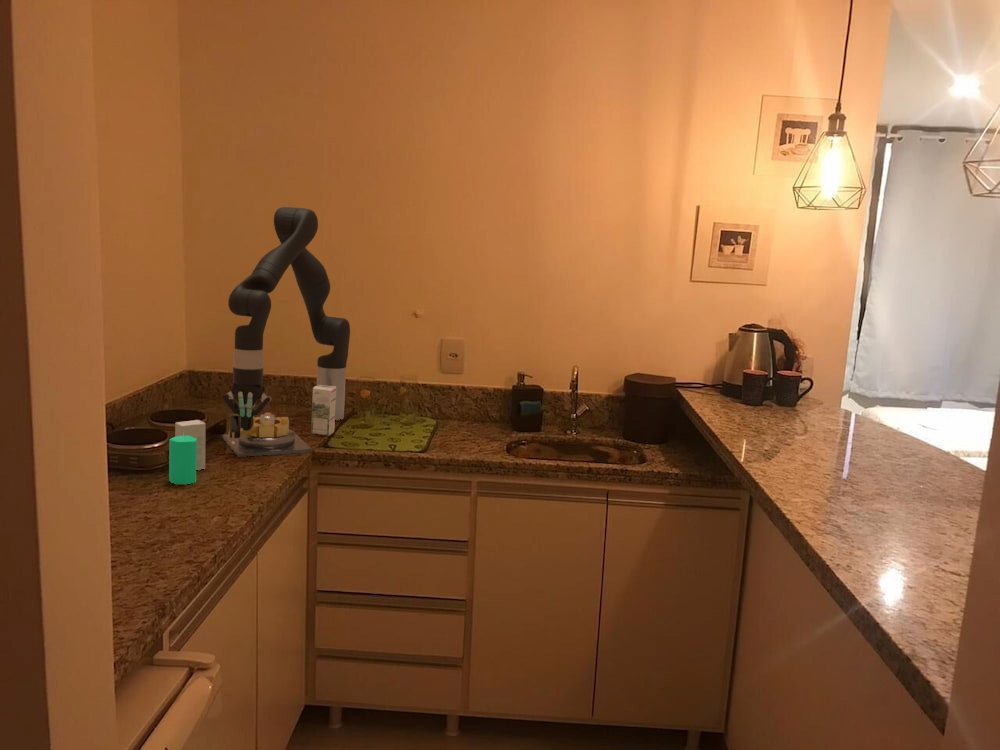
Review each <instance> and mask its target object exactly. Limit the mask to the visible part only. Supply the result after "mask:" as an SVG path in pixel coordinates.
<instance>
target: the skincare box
mask: <svg viewBox="0 0 1000 750" xmlns="http://www.w3.org/2000/svg"><path fill="white" fill-rule="evenodd" d="M174 425H175V426H174V431H175V432H174V435H175V436H174V437H177V436H183V432H184V436H191V437H194V438H197V470H198V471H202V470H201V469H204V470H205V469H206V434H207V433H206V425H207V424H206V423H205V422H204V421H202V420H200V419H194V420H188V421H187V420H186V421H176V422H175V423H174Z"/></svg>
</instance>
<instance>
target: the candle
mask: <svg viewBox="0 0 1000 750" xmlns="http://www.w3.org/2000/svg"><path fill="white" fill-rule="evenodd" d="M168 440H169V443H168V444H169V447H168V448H169V454H168V455H169V456H168V457H169V458H168V467H169V468H168V482H169V481H170V482H171V483H174V484H191V483H193V484H195V483H197V471H196V470H197V438H194V437H191V436H184V432H183V436H177V437H175V436H174V437H172V438H170V439H168ZM194 482H195V483H194ZM191 485H192V484H191Z"/></svg>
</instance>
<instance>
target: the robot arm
mask: <svg viewBox="0 0 1000 750" xmlns="http://www.w3.org/2000/svg"><path fill="white" fill-rule="evenodd" d="M318 220H319V219H318V215H317V214H316V213H315V211H313V210H312V209H309V208H304V207H302V208H301V207H293V206H292V207H290V206H289V207H288V206H282V207H279V208H277V209H276V211H275V212H274V216H273V226H274V230H275V233H276V236H277V238H278V240H279V242H280V244H279V245H278V246H276V247H275V248H273V249H271V250H270V251H269V252H267V253H265V255H263V256H262V257H261V258H260V260H259V261H258V263H257V264H256V265H255V267H254V269H253V271H252V272H251V274H250V275H249V276H247V277H246V278H245V279H243V280H242V281H241V282H240V283H239V284H238V285H237V286H235V287H234V289H232V291H231V292H230V295H229V297H228V301H227V302H228V303H227V304H228V308H229V311H230V312H231V313H232V314H234V315H235V316H242V317H249V318H251V319H250V321H249V323H248V324H245V325H244V324H242V325H239V326H237V327H236V328H235V332H234V349H233V350H234V352H233V360H232V386H231V387H230V391H228V392H227V393H225V394H223V395H222V399H223V401H224V402H225V403H226V404H227V406H228V407H229V409H230V410H231V412H233V413H232V414H238V415H240V416H241V425H240V429H241V428H243V430H245V431H249V430H250V429H251V428H252V427H253V417H255V416H258V415H259V414H261V412H262V411H263V410H264V409H265V408H266V407H267V406H268V405H269V404H270V402H271V401H272V400H273V396H271V395H269V394H267V393H265V388H264V383H263V382H264V381H263V380H264V348H263V347H264V332H265V329H266V326H267V322H268V319H269V315H270V312H271V309H272V300H271V297H270V295H269V294H270V293H272V292H273V291H274V290H275V289H276V288H277V286H278V284H279V283H280V281H281V279H282V278H283V276H284V275H285V272H286V271H287V269H288V268H289V266H291V269H292V271H293V274H294V278H295V279H296V283H297V286H298V289H299V291H300V294H301V297H302V299H303V302H304V304H305V308H306V311H307V314H308V318H309V323H310V327H311V332H312V335H313V338H314V340H315V342H316V343H318V344H320V345H323V346H332V348H333V349H332V352H330V353H327V354H324V355H321V356H319V357H318V358H317V363H316V364H317V365H316V367H317V369H316V386H317V385H326V386H336V403H335V420H336V421H341V420H344V418H345V401H346V398H345V397H346V381H347V378H346V377H347V361H348V357H349V348H350V340H351V339H350V338H351V325H350V322H349V320H348V319H346V318H343V317H335V316H328V315H326V313H325V310H324V305H325V303H326V301H327V299H328V297H329V294H330V291H331V283H330V279H329V276H328V274H327V270H326V269H325V266H324V265H323V264H322V262H321V261H320V260H319V259H318V258H317V257H316V256H315V255H314V254H313V253H312V252H310V251H309V250H308V249H307V247H308V245H310V243H311V242H312V240H314V238H315V237H316V234H317V233H318V228H319V221H318ZM234 398H235V400H234ZM259 400H261V403H260V404H259V406H258V407H257V408H256V409H255V407H256V403H257V402H259ZM236 401H237V402H238V404H237V402H236ZM340 419H341V420H340Z"/></svg>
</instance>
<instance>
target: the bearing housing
mask: <svg viewBox="0 0 1000 750" xmlns="http://www.w3.org/2000/svg"><path fill="white" fill-rule="evenodd" d="M259 417H260V424H261V425H264V421H270V425H274V424H275V418H276V415H275V414H273V413H271V414H265V413H264V414H263V413H262V414H260V416H259ZM222 439H223V441H226V442H225V443H226V445H228V447H229V446H230V447H229V448H230V449H231V451H232V450H233V451H234V452H233V451H232V452H233V453H234V454H235V456H236V455H237V456H236V457H237V458H238V457H239V458H250V457H249V456H254V457H263V456H262V455H268V456H278V454H282V455H293V454H295V453H296V454H305V453H307V454H308V453H313V448H312V447H311V446H310V445H309V444H308V443H306V441H304V439H302V438H301V437H300V436H299V435H298V434H297V433H296V432H295V431H294V430H292V429H290V428H289V434H287V435H284V436H280V437H274V438H268V437H254V436H251V435H247V436H242V437H240V438H230V437H228V434H227V433H225V434H222ZM292 453H293V454H292ZM247 456H248V457H247Z"/></svg>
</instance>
